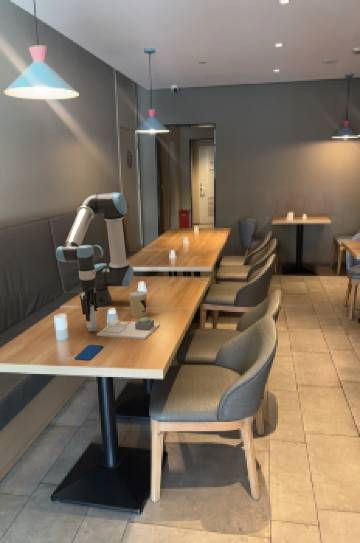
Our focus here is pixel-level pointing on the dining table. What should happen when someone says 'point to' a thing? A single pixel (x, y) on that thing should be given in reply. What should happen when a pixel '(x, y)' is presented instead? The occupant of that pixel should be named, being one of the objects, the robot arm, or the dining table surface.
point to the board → (129, 329)
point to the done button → (144, 320)
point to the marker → (92, 318)
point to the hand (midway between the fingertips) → (91, 325)
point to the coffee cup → (138, 303)
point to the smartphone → (89, 352)
